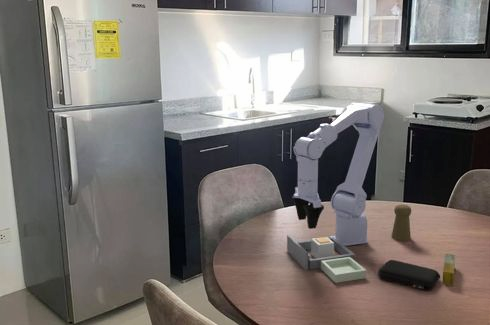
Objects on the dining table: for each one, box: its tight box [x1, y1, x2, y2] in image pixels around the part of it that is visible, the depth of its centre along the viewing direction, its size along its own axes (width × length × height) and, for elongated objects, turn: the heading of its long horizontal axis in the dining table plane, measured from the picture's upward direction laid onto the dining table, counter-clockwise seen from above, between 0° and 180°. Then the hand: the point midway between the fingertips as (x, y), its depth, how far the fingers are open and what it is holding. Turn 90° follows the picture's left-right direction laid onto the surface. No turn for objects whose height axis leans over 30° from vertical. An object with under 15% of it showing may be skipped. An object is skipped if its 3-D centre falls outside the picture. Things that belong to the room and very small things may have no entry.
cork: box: [390, 203, 412, 242], centre depth 156 cm, size 6×6×11 cm
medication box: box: [442, 253, 456, 286], centre depth 131 cm, size 12×3×4 cm, turn 156°
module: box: [310, 236, 335, 259], centre depth 144 cm, size 5×5×5 cm
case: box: [286, 234, 356, 271], centre depth 143 cm, size 15×14×5 cm
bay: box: [320, 257, 367, 284], centre depth 133 cm, size 9×9×2 cm
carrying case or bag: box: [377, 259, 441, 291], centre depth 129 cm, size 11×3×15 cm
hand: (307, 223), depth 143 cm, fingers open, 7 cm apart
